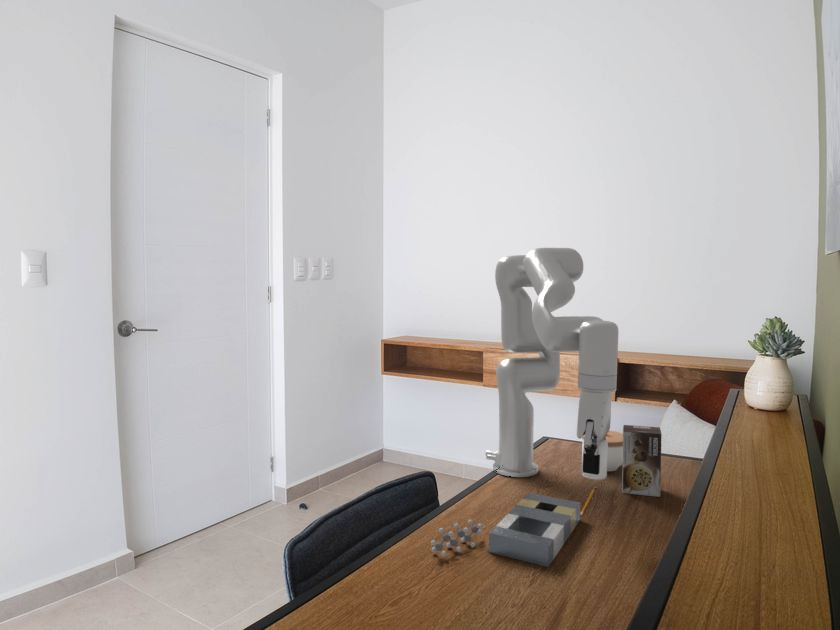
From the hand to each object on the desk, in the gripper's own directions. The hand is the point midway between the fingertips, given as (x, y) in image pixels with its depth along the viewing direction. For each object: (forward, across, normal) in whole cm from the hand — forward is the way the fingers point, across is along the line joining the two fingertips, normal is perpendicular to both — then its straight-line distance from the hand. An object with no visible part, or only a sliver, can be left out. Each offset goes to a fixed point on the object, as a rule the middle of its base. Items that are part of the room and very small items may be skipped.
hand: (594, 467), depth 120 cm
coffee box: (+16, -34, +4) cm, 37 cm away
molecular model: (+16, +17, -23) cm, 33 cm away
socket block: (+16, +4, -11) cm, 19 cm away
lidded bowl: (+16, -47, -7) cm, 51 cm away
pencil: (+16, -20, -6) cm, 27 cm away
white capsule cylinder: (+2, 0, 0) cm, 2 cm away
